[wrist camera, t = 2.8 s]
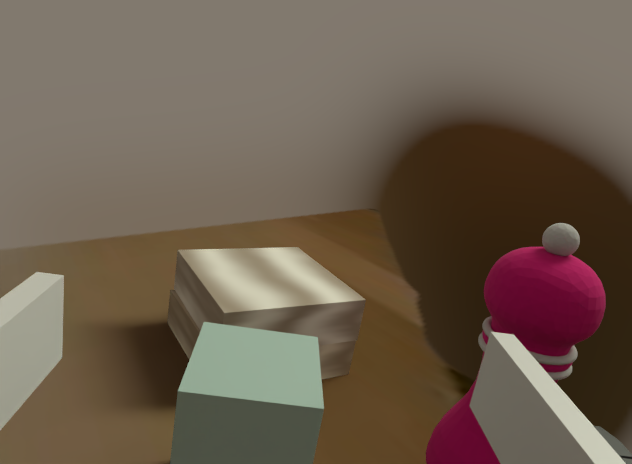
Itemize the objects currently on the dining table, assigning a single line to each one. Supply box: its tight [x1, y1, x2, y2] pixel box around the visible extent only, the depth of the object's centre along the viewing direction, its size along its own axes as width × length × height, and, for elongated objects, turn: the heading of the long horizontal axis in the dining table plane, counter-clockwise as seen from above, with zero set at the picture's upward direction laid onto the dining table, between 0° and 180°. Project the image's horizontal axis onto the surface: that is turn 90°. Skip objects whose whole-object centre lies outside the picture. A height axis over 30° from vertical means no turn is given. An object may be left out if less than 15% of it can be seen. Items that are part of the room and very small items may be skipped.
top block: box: [174, 247, 366, 346], centre depth 46 cm, size 13×13×4 cm
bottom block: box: [167, 290, 356, 380], centre depth 47 cm, size 13×13×4 cm
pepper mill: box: [426, 223, 605, 464], centre depth 29 cm, size 7×7×20 cm
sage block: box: [170, 322, 324, 464], centre depth 28 cm, size 7×7×10 cm
